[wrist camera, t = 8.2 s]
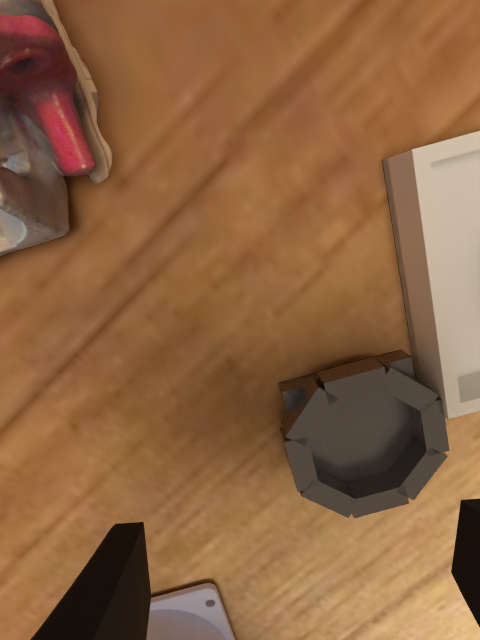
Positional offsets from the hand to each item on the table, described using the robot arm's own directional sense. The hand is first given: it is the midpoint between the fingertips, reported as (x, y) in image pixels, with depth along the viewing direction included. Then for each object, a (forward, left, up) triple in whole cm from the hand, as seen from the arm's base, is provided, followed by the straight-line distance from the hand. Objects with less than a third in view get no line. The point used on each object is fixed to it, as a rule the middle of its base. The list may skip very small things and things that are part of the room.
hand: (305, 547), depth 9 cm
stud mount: (-4, -4, -10) cm, 11 cm away
